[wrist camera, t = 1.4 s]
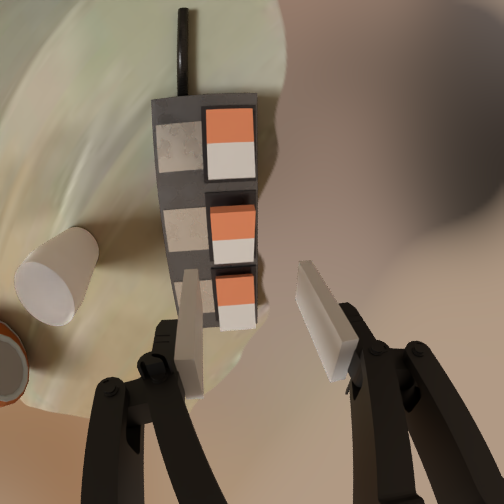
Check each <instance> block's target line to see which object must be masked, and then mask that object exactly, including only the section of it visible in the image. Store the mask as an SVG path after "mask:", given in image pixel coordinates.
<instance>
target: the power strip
mask: <svg viewBox="0 0 504 504" xmlns="http://www.w3.org/2000/svg"><path fill="white" fill-rule="evenodd" d="M188 10H189V9H188V8H180V9H178V32H177V95H178V97H170V98H161V99H154V100H151V105H152V127H153V143H154V156H155V168H156V178H157V188H158V197H159V205H160V213H161V221H162V228H163V235H164V242H165V248H166V255H167V261H168V267H169V273H170V278H171V284H172V289H173V294H174V299H175V304H176V309H177V314H178V315H179V307H180V299H181V291H182V283H183V276H184V270H185V269H198V274H199V282H200V290H201V298H202V305H203V328H207V327H220V321H219V311H218V300H217V288H216V276H225V275H239V274H253V276H254V298H255V322H256V324H257V278H258V239H257V238H258V236H257V234H258V227H257V226H258V224H257V223H258V168H257V93H224V94H204V95H190V96H188ZM238 108H252V109H253V131H254V154H255V178H236V179H217V180H208V160H207V130H206V110H212V109H238ZM236 205H254V207H255V210H256V214H255V238H254V262H241V263H226V264H214V253H213V242H212V229H211V216H210V207H219V206H236Z"/></svg>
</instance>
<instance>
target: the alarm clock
mask: <svg viewBox="0 0 504 504" xmlns="http://www.w3.org/2000/svg"><path fill="white" fill-rule="evenodd" d="M28 382H29V363H28V359H27V354H26V350H25V348H24V346H23V344H22V342H21V340H20V338H19V336H18V335H17V334H16V333H15V332H14V331H13V330H12V329H11V328H10V327H9V326H8V325H7V324H6V323H4V322H2V321H0V407H3V406H6V405H10V404H13V403H15V402H16V401H17V400H18V399H19V398H20V397H21V396H22V395H23V394H24V392H25V389H26V387H27V384H28Z"/></svg>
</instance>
